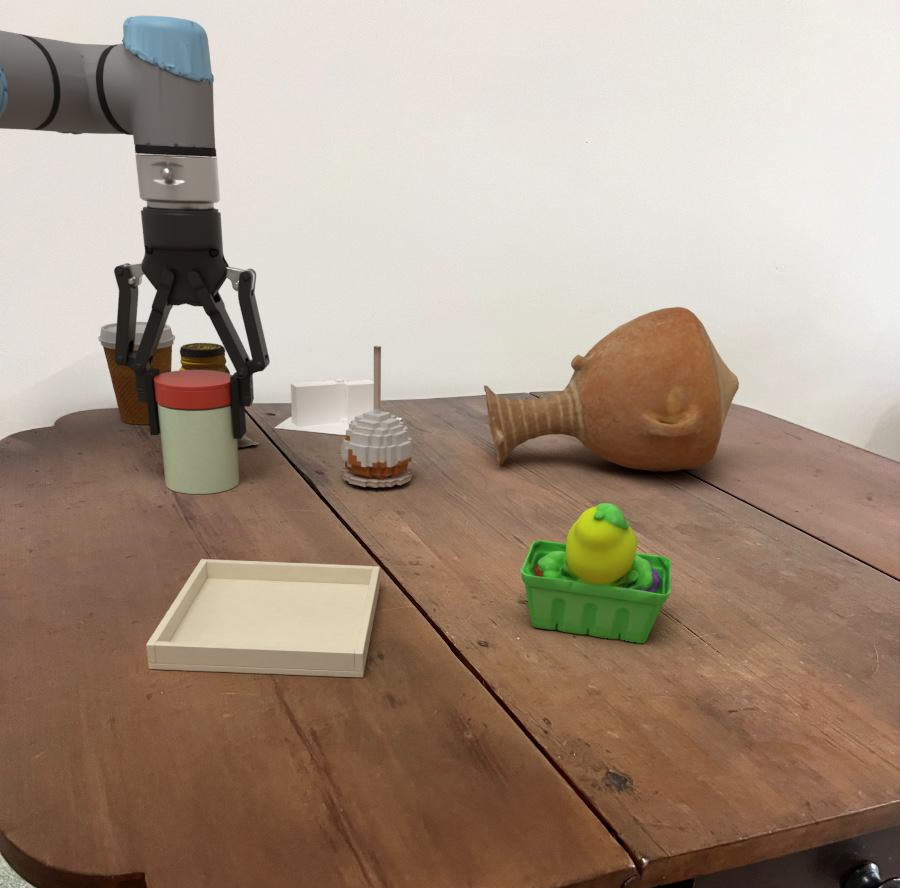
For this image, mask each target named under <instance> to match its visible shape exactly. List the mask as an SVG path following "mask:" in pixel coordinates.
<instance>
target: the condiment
mask: <svg viewBox="0 0 900 888" xmlns="http://www.w3.org/2000/svg"><path fill="white" fill-rule="evenodd" d="M179 355H180V364H181V367H180V368H179V370H178V371H180V370H212V371H220V372H225V373H228V374H231V371H230V369H229V367H228V366H227V365H226V364H227V358H226V349H225V347H224V345H223V344H222V345H221V344H219V343H214V342H213V343H211V342H193V343H187V344H183V345H182V346H180V348H179ZM237 443H238V448H246V447H249V446H256V445H260V443H259V442H256V441H254V440H253V439H251V438H250V437H247V436H246V434H245V435H244V436H243V437H242V438H241V439H237Z"/></svg>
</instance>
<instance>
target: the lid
mask: <svg viewBox="0 0 900 888" xmlns="http://www.w3.org/2000/svg"><path fill="white" fill-rule="evenodd" d="M232 375H233V374H231V373H230V374H228V373H225V372H220V371H212V370H180V371H179V370H174V371H172V370H171V372H166V373H162V374H159V375H157V376H156V377H154V387H155V397H156V402H157V403H158V404H160V405H163V406H166V407H170V408H178V409H209V408H217V407H222V406H226V405H229V404H231V403H232V400H231V385H230V377H231V376H232Z"/></svg>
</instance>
